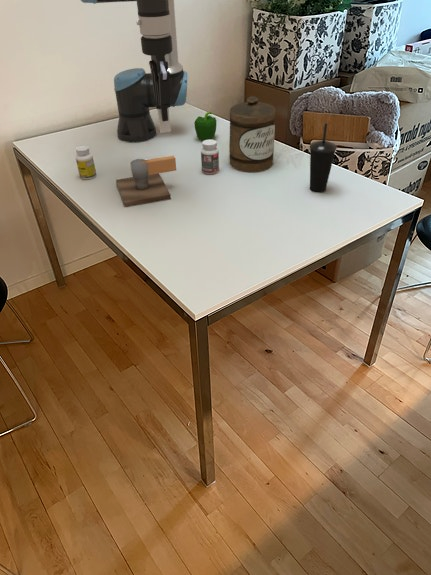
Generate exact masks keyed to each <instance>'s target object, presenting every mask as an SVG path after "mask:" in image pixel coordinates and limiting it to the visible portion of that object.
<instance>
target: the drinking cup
mask: <svg viewBox="0 0 431 575" xmlns="http://www.w3.org/2000/svg"><path fill="white" fill-rule="evenodd" d="M327 128H328V123H324V127H323V136H322V139H321V140H316V141H313V142H311V143H310V145H309V149H310V153H309V154H310V155H309V156H310V157H309V158H310V160H309V163H310V165H309V189H310V191H311V192H313V193H318V194H319V193H324V192H326V190H327V185H328V183H329V178H330V174H331V169H332V165H333V160H334V158H335V152H336V150H337V149H338V148H337V147H338V146H337V144H335V143H334V142H331V141H330V140H326V136H327Z"/></svg>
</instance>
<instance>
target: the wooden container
mask: <svg viewBox="0 0 431 575" xmlns="http://www.w3.org/2000/svg"><path fill="white" fill-rule="evenodd" d="M276 110H277V109H276V108H275V106H274V105H271V104H270V103H266V102H260V101H259V97H257V96H256V95H250V96H249V97H247V99H246V101H245V102H240V103H237V104H234V105H232V106H231V107H230V109H229V141H228V142H229V146H228V147H229V149H228V150H229V151H228V152H229V154H228V155H229V156H228V157H229V165H230V166H231V168H232V169H235V170H237V171H239V172H240V171H241V172H244V173H245V172H246V173H257V172H262V171H266V170H268V169H270V168H271V167H272V166H273V164H274V152H275V133H276V132H275V130H276V113H277V111H276Z"/></svg>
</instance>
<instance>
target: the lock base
mask: <svg viewBox="0 0 431 575" xmlns="http://www.w3.org/2000/svg"><path fill="white" fill-rule="evenodd" d="M115 183H116V186H117V189H118V192H119V195H120V197H121V202H122V203H123V204H122V205H123V206H124V208H128V207H133V206H139V205H140V206H141V205H145V204H150V203H151V204H152V203H156V202H162V201H167V200H171V198H172V197H171V196H172V195H171V193H170V191H169V189H168V187H167V185H166V184H165V181H164V180H163V178H162V176H161V173H158V174H152V175H148V176H147V177H145V178H141V179H138V178H134V177H133V176H131V177H124V178H117V179H115Z"/></svg>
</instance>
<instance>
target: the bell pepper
mask: <svg viewBox="0 0 431 575" xmlns="http://www.w3.org/2000/svg"><path fill="white" fill-rule="evenodd" d="M212 113H213V112H212V111H210V110H209V111H207V112H206V113H205V114H204V117H203V116H197V117H196V118H195V120H194V131H195V134H196V137H197V139H198V140H199V141H202V142H203V141H205V140H209V139H211V140H214V138H215V135H216V132H217V119H216V117H213V116H211V115H212Z"/></svg>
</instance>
